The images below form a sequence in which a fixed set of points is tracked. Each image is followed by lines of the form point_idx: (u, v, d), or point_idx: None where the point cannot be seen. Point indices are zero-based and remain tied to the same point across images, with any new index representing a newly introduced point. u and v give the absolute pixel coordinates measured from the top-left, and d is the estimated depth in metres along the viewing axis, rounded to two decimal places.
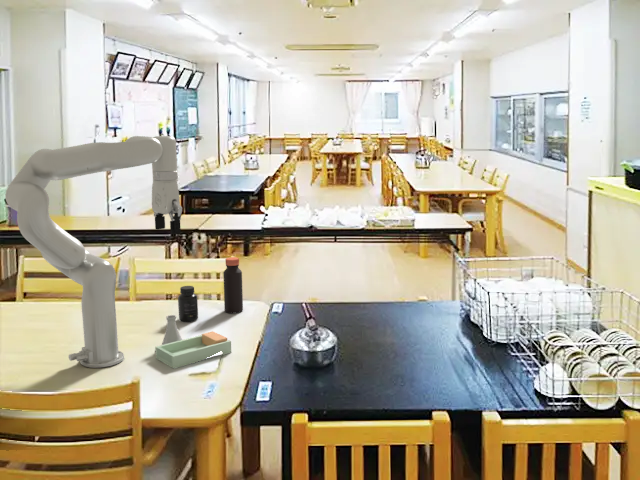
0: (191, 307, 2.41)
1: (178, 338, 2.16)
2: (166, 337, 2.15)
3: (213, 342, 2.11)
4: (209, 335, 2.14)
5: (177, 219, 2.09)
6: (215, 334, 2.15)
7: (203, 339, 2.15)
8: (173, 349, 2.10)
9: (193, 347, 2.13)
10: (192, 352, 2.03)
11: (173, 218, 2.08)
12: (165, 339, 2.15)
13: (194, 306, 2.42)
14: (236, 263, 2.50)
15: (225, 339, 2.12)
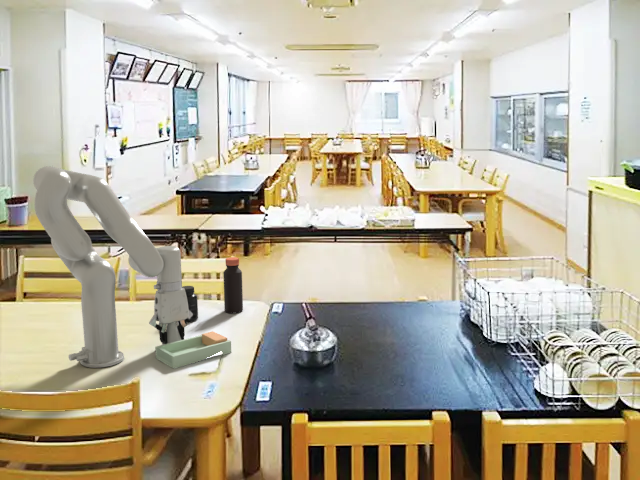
0: (191, 307, 2.41)
1: (178, 338, 2.16)
2: None
3: (213, 342, 2.11)
4: (209, 335, 2.14)
5: None
6: (215, 334, 2.15)
7: (203, 339, 2.15)
8: (173, 349, 2.10)
9: (193, 347, 2.13)
10: (192, 352, 2.03)
11: None
12: None
13: (194, 306, 2.42)
14: (236, 263, 2.50)
15: (225, 339, 2.12)
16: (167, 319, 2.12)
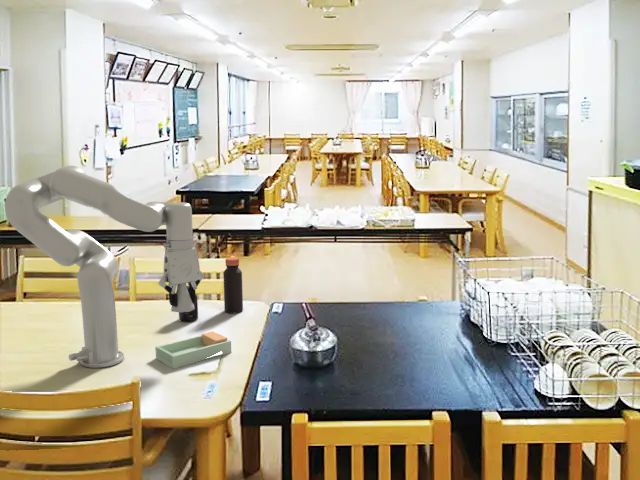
0: None
1: (189, 300, 2.04)
2: None
3: (213, 342, 2.11)
4: (209, 335, 2.14)
5: None
6: (215, 334, 2.15)
7: (203, 339, 2.15)
8: (173, 349, 2.10)
9: (193, 347, 2.13)
10: (192, 352, 2.03)
11: None
12: None
13: (194, 306, 2.42)
14: (236, 263, 2.50)
15: (225, 339, 2.12)
16: (177, 279, 1.99)
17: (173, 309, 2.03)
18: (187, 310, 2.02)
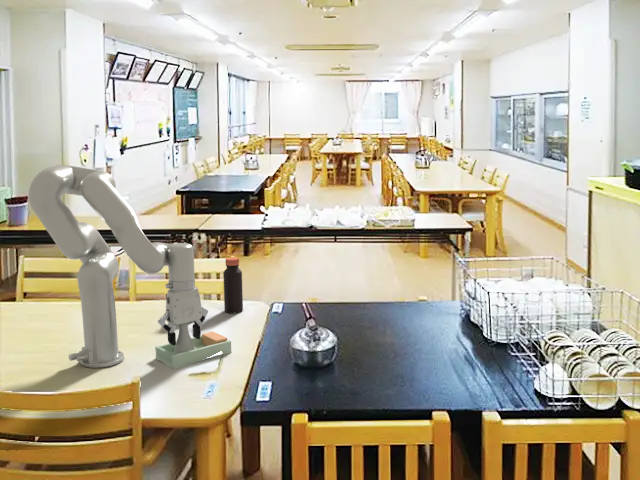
0: None
1: (190, 345, 2.06)
2: (178, 344, 2.05)
3: (213, 342, 2.11)
4: (209, 335, 2.14)
5: None
6: (215, 334, 2.15)
7: (203, 339, 2.15)
8: (173, 349, 2.10)
9: None
10: (192, 352, 2.03)
11: (201, 323, 2.09)
12: (177, 346, 2.05)
13: None
14: (236, 263, 2.50)
15: (225, 339, 2.12)
16: (179, 320, 2.02)
17: (175, 354, 2.05)
18: None
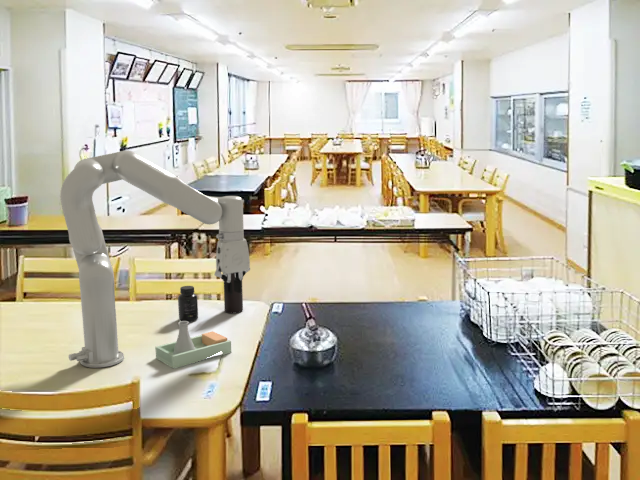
0: (191, 307, 2.41)
1: (190, 345, 2.06)
2: (178, 344, 2.05)
3: (213, 342, 2.11)
4: (209, 335, 2.14)
5: None
6: (215, 334, 2.15)
7: (203, 339, 2.15)
8: (173, 349, 2.10)
9: None
10: (192, 352, 2.03)
11: (242, 278, 2.16)
12: (177, 346, 2.05)
13: (194, 306, 2.42)
14: None
15: (225, 339, 2.12)
16: (229, 269, 2.11)
17: (175, 354, 2.05)
18: None
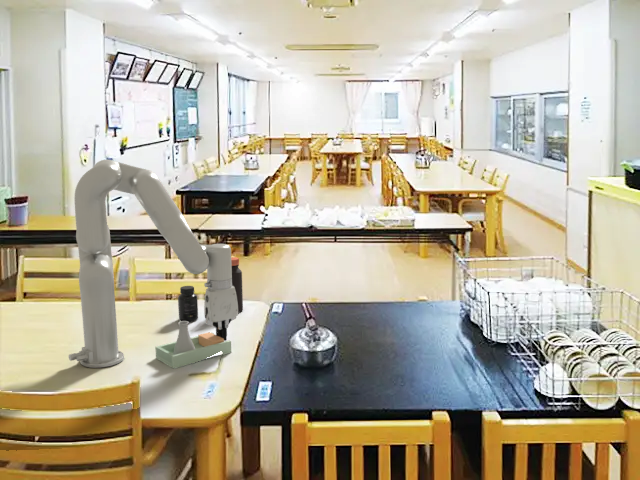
0: (191, 307, 2.41)
1: (190, 345, 2.06)
2: (178, 344, 2.05)
3: (209, 343, 2.10)
4: (206, 336, 2.14)
5: None
6: (212, 335, 2.15)
7: (200, 340, 2.15)
8: (173, 349, 2.10)
9: None
10: (192, 352, 2.03)
11: (227, 326, 2.15)
12: (177, 346, 2.05)
13: (194, 306, 2.42)
14: (236, 263, 2.50)
15: (222, 340, 2.11)
16: (218, 317, 2.11)
17: (175, 354, 2.05)
18: None
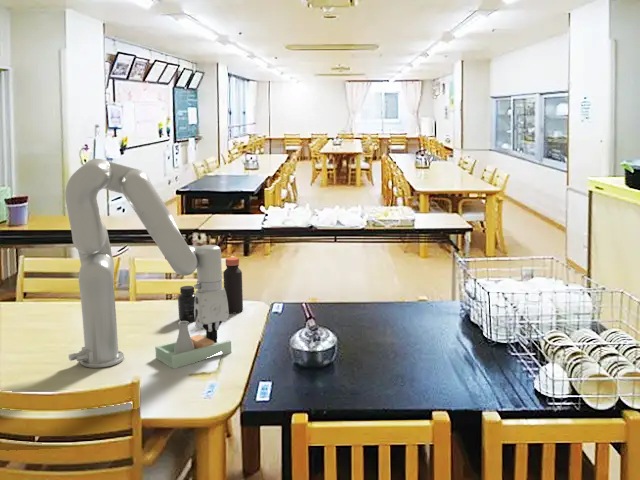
0: (191, 307, 2.41)
1: (190, 345, 2.06)
2: (178, 344, 2.05)
3: (199, 346, 2.08)
4: (196, 338, 2.11)
5: None
6: (202, 337, 2.12)
7: None
8: (173, 349, 2.10)
9: None
10: (192, 352, 2.03)
11: None
12: (177, 346, 2.05)
13: None
14: (236, 263, 2.50)
15: (212, 343, 2.09)
16: (207, 319, 2.08)
17: (175, 354, 2.05)
18: None
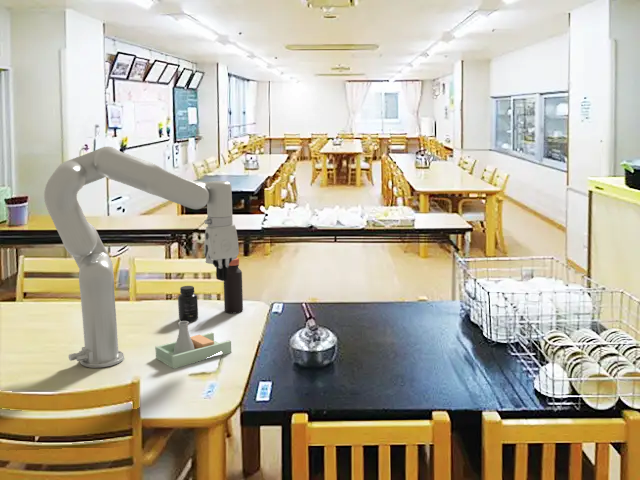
0: (191, 307, 2.41)
1: (190, 345, 2.06)
2: (178, 344, 2.05)
3: (199, 346, 2.08)
4: (196, 338, 2.11)
5: None
6: (202, 337, 2.12)
7: None
8: (173, 349, 2.10)
9: None
10: (192, 352, 2.03)
11: None
12: (177, 346, 2.05)
13: (194, 306, 2.42)
14: (236, 263, 2.50)
15: (212, 343, 2.09)
16: (218, 255, 2.07)
17: (175, 354, 2.05)
18: None
